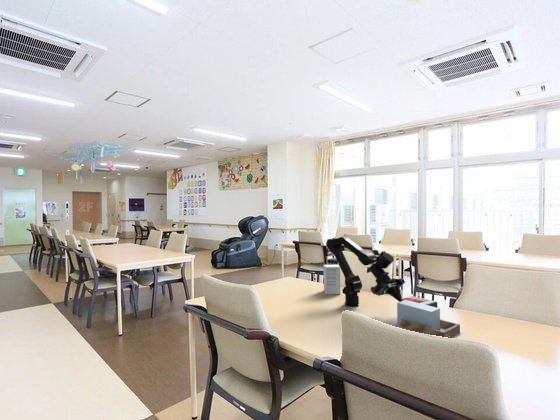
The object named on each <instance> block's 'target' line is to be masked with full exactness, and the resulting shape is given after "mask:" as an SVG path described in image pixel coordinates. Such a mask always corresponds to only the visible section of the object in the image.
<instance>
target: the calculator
mask: <svg viewBox="0 0 560 420" xmlns="http://www.w3.org/2000/svg"><path fill="white" fill-rule="evenodd" d="M404 300H408V301H412V302H416V303H420V304H424V305H428V306H432V307H436V308H439V307H438V302H437V301H436V300H430V299H428V298H423V297H422V298H421V297H418V296H415V295H412V296H408V297H404V298H403V297H402V301H404Z"/></svg>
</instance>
